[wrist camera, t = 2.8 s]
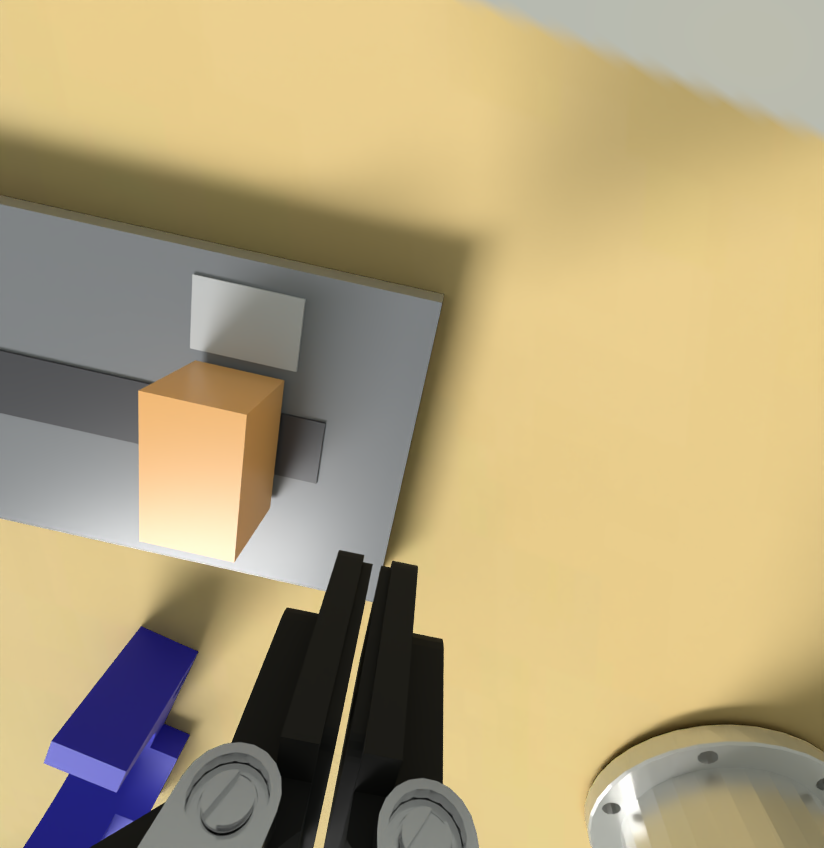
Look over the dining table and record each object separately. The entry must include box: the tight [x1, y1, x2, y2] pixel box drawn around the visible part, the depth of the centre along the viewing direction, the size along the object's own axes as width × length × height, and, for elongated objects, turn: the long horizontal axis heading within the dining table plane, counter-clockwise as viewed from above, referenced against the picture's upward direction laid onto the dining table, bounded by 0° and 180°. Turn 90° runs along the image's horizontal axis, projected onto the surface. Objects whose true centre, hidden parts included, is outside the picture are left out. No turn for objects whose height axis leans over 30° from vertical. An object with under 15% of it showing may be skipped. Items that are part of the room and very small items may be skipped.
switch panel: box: [0, 195, 444, 602], centre depth 19 cm, size 26×12×2 cm, turn 79°
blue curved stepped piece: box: [23, 626, 198, 848], centre depth 24 cm, size 12×4×6 cm, turn 153°
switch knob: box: [138, 360, 284, 562], centre depth 16 cm, size 3×5×3 cm, turn 169°
